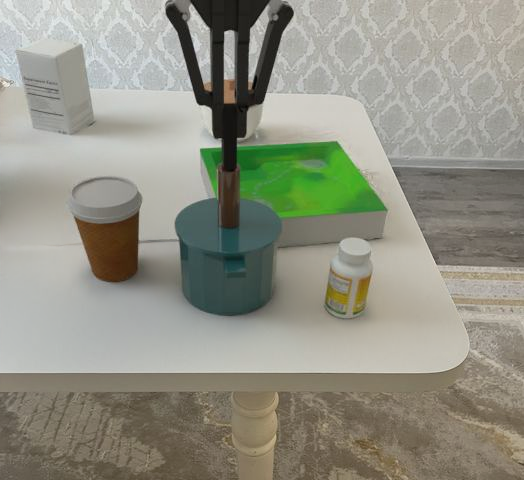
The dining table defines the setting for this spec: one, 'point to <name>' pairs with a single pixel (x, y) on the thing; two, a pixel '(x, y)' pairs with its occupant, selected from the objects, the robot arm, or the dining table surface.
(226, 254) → the lid
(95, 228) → the disposable coffee cup
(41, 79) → the rectangular carton
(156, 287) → the dining table surface
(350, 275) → the supplement bottle
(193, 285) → the pot
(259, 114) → the lidded bowl
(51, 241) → the dining table surface
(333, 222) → the tray
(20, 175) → the dining table surface
